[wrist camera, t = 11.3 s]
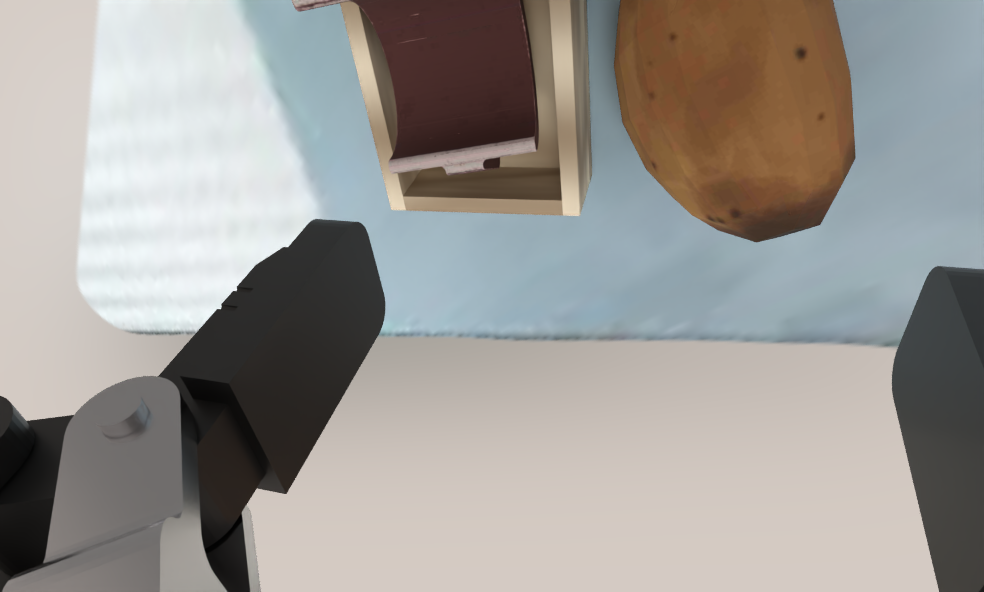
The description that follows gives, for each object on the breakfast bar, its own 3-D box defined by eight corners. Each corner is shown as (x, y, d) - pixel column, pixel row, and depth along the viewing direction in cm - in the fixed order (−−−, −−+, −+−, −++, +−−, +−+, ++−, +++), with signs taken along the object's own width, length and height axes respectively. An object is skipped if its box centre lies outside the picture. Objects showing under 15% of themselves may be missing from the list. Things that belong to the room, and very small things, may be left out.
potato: (659, -79, 29) (828, -193, 22) (760, 198, 32) (934, 177, 25) (531, -25, 26) (679, -138, 19) (658, 273, 29) (822, 273, 22)
